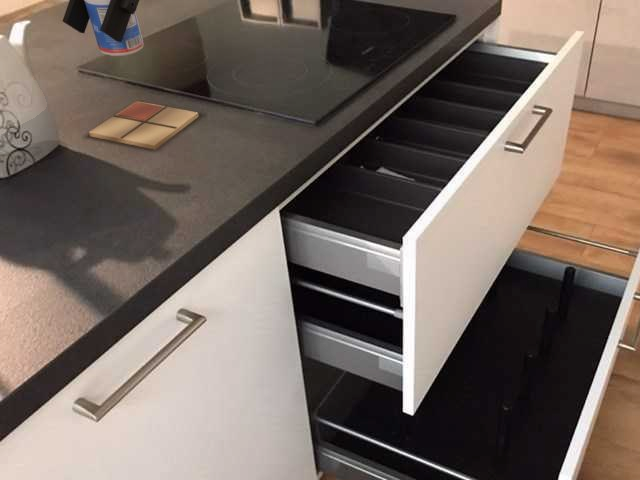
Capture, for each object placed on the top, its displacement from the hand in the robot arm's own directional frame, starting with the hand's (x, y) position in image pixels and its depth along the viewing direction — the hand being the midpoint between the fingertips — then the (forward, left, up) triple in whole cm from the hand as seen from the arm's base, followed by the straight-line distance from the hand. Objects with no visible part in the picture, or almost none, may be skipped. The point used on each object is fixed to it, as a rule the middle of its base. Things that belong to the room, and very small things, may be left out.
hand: (92, 31), depth 78 cm
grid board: (+3, +2, -13) cm, 14 cm away
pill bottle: (0, +4, -4) cm, 5 cm away
